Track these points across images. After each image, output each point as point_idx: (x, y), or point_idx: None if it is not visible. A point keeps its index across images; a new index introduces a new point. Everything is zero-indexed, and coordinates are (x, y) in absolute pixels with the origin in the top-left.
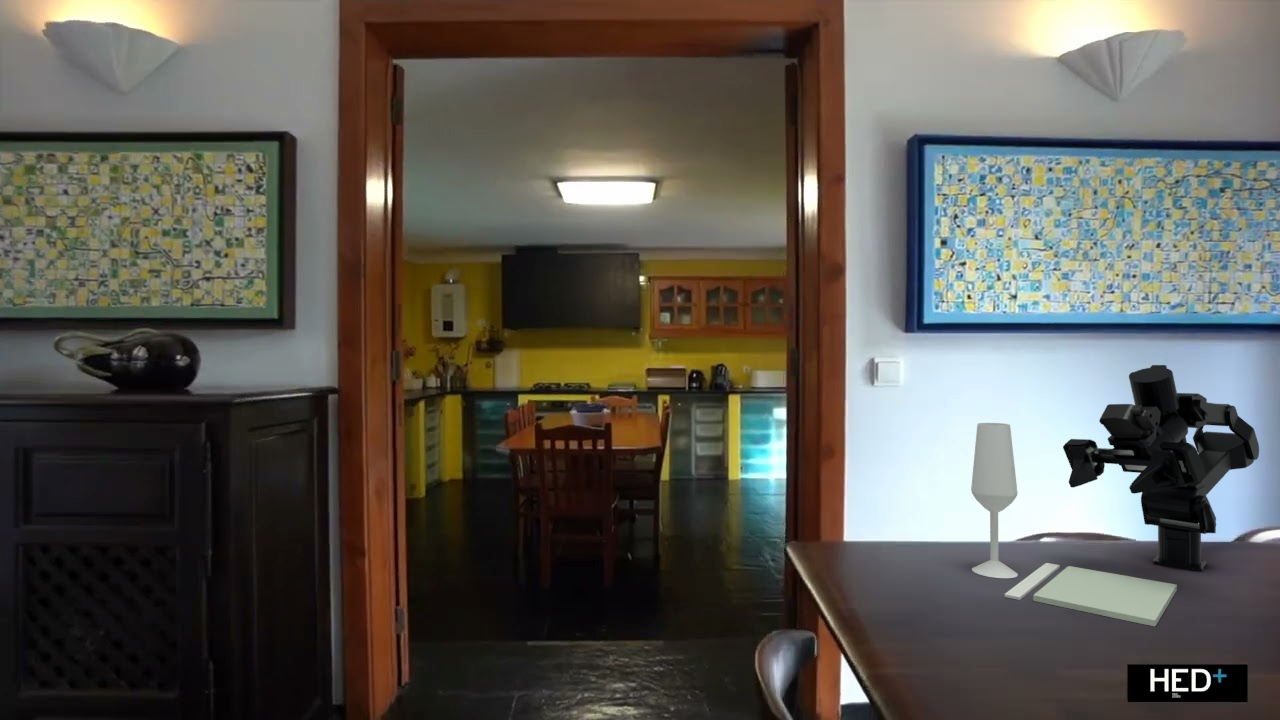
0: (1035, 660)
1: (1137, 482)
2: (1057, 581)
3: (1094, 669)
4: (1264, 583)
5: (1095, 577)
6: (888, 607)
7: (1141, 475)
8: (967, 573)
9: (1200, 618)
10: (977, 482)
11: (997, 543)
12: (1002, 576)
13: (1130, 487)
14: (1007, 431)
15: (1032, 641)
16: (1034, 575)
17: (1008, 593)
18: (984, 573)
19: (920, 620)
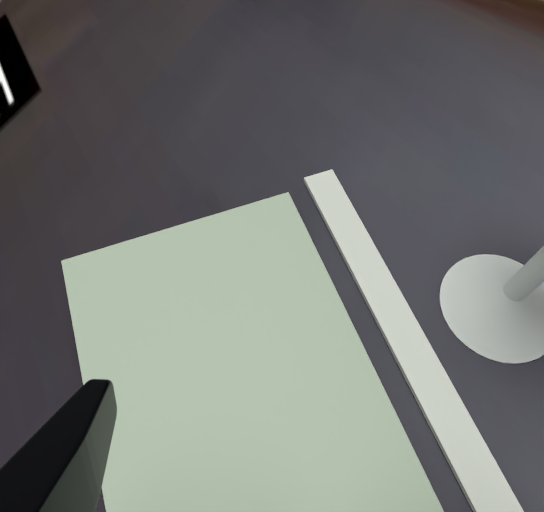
0: (126, 19)
1: (50, 418)
2: (339, 331)
3: (64, 48)
4: None
5: (322, 480)
6: (365, 5)
7: (12, 503)
8: (504, 237)
9: (13, 421)
10: None
11: (529, 265)
12: (449, 279)
13: (102, 380)
14: None
15: (164, 58)
16: (421, 350)
17: (332, 179)
18: (481, 257)
19: (301, 5)
